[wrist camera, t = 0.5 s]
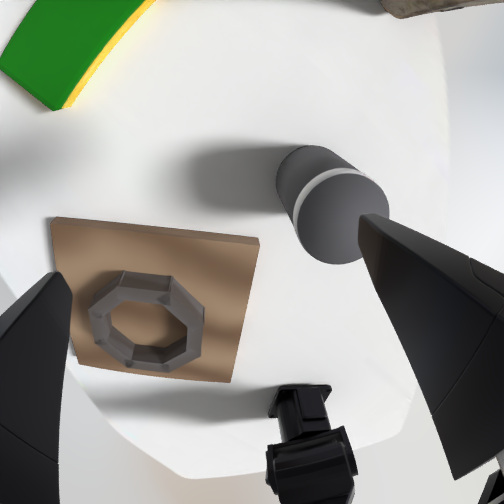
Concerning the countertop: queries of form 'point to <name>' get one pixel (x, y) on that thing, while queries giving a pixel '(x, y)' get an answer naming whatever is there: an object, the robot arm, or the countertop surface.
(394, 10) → the vintage camera
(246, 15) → the countertop surface
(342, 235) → the lens
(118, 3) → the dish sponge
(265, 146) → the countertop surface
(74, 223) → the mount
